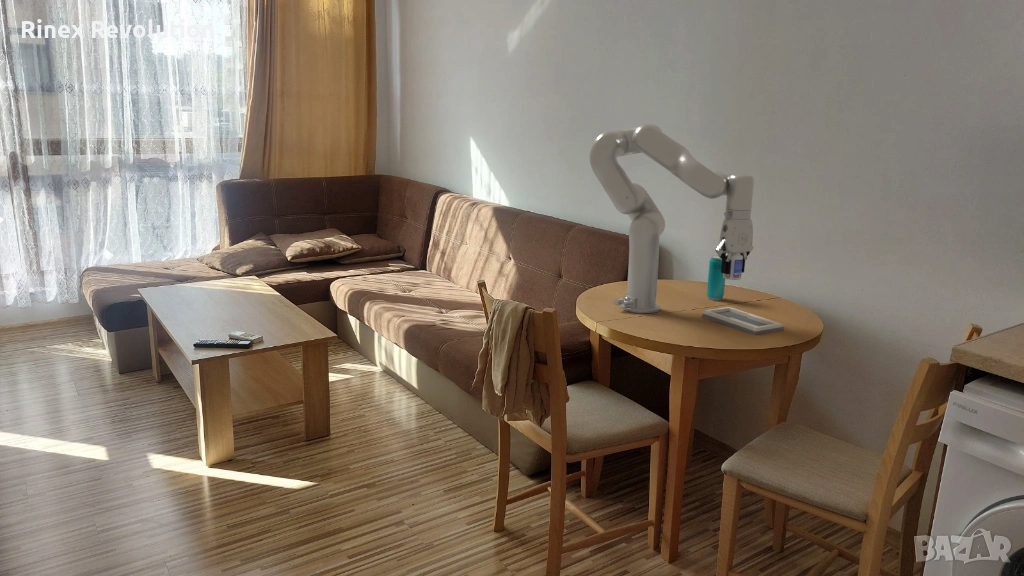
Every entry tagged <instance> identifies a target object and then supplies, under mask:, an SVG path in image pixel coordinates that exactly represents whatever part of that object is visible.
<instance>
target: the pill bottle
mask: <svg viewBox="0 0 1024 576" xmlns="http://www.w3.org/2000/svg"><path fill="white" fill-rule="evenodd" d="M740 253H742V252H738V253H732V254H731V257H730V260H729V262H731V265H730V274H723V277H724V278H725V280H731V281H740V280H742V275H743V274H742V263H743V256H742V255H740ZM727 254H728V253H726V256H727Z"/></svg>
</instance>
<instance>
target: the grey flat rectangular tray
mask: <svg viewBox="0 0 1024 576" xmlns="http://www.w3.org/2000/svg"><path fill="white" fill-rule="evenodd" d="M701 317H702V318H705V319H708V320H711V321H714V322H716V323H719V324H722V325H725V326H728V327H729V328H730V327H731V328H734V329H736V330H738V331H742V332H745V333H749V334H751V335H754V336H756V335H761V334H769V333H773V332H780V331H784V326H783V323H781V322H778V321H776V320H775V321H774V320H772V319H768V318H765V317H762V316H760V315H755V314H753V313H750V312H746V311H743V310H740V309H737V308H735V307H731V306H726V307H725V306H724V307H718V308H712V309H711V308H710V309H705V310H703V313H701Z"/></svg>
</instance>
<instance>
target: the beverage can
mask: <svg viewBox="0 0 1024 576" xmlns="http://www.w3.org/2000/svg"><path fill="white" fill-rule="evenodd" d="M721 264H722V260H720V257H719V255H711V256H710V259H709V265H708V276H707V285H706V286H707V288H706V295H707V298H708V300H711V301H721V300H723V298H724V295H725V285H726V279H725V278H724V277H723V274H724V273H721Z"/></svg>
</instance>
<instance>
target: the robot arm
mask: <svg viewBox="0 0 1024 576" xmlns="http://www.w3.org/2000/svg"><path fill="white" fill-rule="evenodd" d="M635 154H643V155H645V156H646V157H648V158H650V159H651V160H652V161H653V162H656V163H657V164H658V165H660V166H661V167H663V168H664V169H665V170H667V171H669V172H670V173H671V174H672V175H673V176H675V177H677V179H679V180H680V181H681V182H683V183H684V184H685V185H686V186H688V187H690V188H691V189H692V190H694V191H695V192H697V193H698V194H700V195H701V196H703V197H704V198H707V199H711V200H714V199H718V198H720V197H722V196H726V200H725V202H726V203H725V210H724V211H725V212H724V213H723V215H724V219H723V222H722V224H721V225H722V226H721V229H720V235H719V242H718V243H719V244H718V246H717V247H716V249H715V250H714V251H715V253H716V254H717V256H719V257H720V260H722V264H721V273H724V274H730V265H731V262H729V260H730V257H731V254H732V253H738V252H741V253H740V255H742V256H743V263H742V273H745V269H746V268H745V266H746V261H747V260H748V257H749V255H750V253H752V251H753V250H754V245H753V241H754V239H753V238H754V228H753V227H754V226H753V219H751V216H752V215H751V214H752V206H753V194H754V186H755V185H754V183H755V179H754V176H753V175H751V174H745V173H744V174H743V173H734V174H730V173H725V172H718V171H713V170H711V169H710V168H708V167H707V166H705V165H704V164H702V163H700V161H698V160H697V159H696V158H694V156H693V155H692V154H691V153H690V151H689V150H688V149H687V148H686V147H685V146H683V145H682V144H680V143H679V142H677V141H676V140H674V139H673V138H671V137H670V136H668V135H667V134H666V133H664V132H663V131H662V129H661V128H660V127H659V125H658V126H657V125H655V124H651V123H648V124H647V123H646V124H642V125H639V126H636V127H632V128H625V129H620V130H608V131H605V132H601V134H599V135H598V136H597V137H596V138H595V140H593V143H592V145H591V147H590V150H589V163H590V164H589V165H590V167H591V171H592V172H593V173H594V175H595V177H596V179H597V181H598V182H599V184H600V185H601V187H602V188H603V190H604V191H605V193H606V194H607V196H608V197H609V199H610V201H611V202H612V204H613V205H614V207H615V209H616V210H617V211H618V212H619V213H621V214H623V215H628V217H629V218H630V220H631V222H630V226H629V229H628V247H629V250H628V270H627V271H628V272H627V286H626V294H624V295H623V297H622V298H618V299H615V300H614V305H615V306H621V309H622V310H624V311H627V312H631V313H636V314H655V313H658V312H660V310H661V306H660V304H658V303H656V302H657V289H658V287H657V286H658V276H659V275H658V274H659V273H658V272H659V262H660V261H659V257H660V236H661V235H662V234H663V233H664V231H665V228H666V221H665V218H664V216H663V214H662V212H661V211H660V209H659V208H658V206H657V205H656V203H655V202H654V199H652V197H651V195H650V194H649V193H648V192H647V190H646V189H645V188H644V187H643V186H642V185H641V184H639V183H637V182H636V183H635V182H632V181H631V179H630V178H629V176H628V175H627V173H626V171H625V170H624V169H623V167H622V166H621V164H620V163H619V162H618V160H617V159H618V158H619V157H624V156H630V155H635ZM726 254H727V256H726Z"/></svg>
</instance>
